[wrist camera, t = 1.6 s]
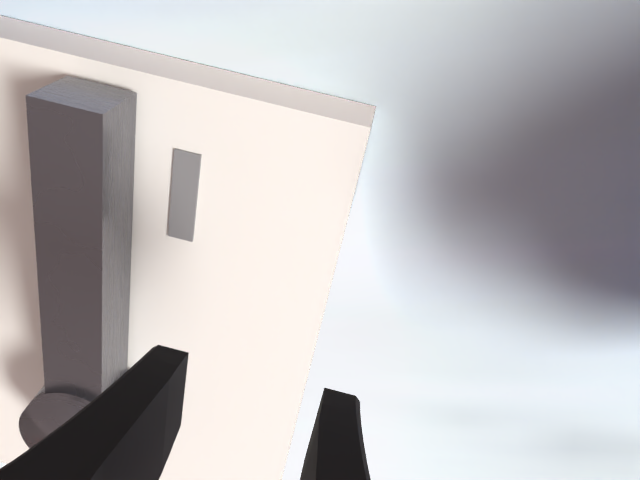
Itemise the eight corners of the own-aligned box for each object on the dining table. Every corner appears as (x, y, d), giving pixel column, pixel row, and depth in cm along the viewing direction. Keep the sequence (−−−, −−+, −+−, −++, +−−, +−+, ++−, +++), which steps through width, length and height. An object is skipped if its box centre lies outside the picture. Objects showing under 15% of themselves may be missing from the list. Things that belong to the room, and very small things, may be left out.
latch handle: (143, 454, 24) (116, 506, 22) (58, 431, 24) (24, 480, 22) (164, 99, 16) (126, 127, 14) (40, 68, 16) (-16, 91, 14)
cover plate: (277, 494, 27) (267, 535, 26) (-107, 392, 28) (-144, 425, 26) (375, 106, 18) (370, 128, 16) (-216, -37, 18) (-286, -31, 16)
